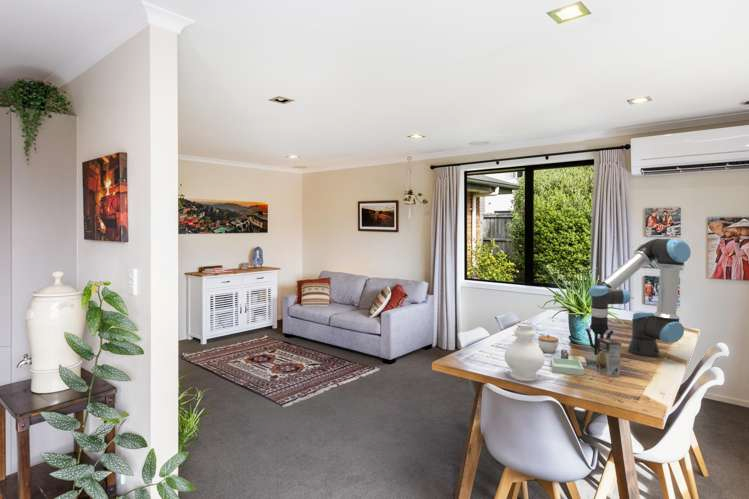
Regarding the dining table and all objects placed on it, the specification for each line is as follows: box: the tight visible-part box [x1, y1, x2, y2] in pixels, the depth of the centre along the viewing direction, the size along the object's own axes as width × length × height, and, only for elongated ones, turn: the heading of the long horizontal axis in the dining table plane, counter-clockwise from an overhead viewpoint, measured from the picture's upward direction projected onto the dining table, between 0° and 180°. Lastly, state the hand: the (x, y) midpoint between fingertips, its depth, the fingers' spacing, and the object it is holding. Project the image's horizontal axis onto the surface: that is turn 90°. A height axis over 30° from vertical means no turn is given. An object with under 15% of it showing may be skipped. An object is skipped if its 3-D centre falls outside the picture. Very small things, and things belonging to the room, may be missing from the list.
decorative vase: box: [504, 322, 546, 382], centre depth 206 cm, size 18×18×25 cm
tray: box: [550, 357, 585, 376], centre depth 217 cm, size 14×15×3 cm
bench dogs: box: [560, 349, 570, 359], centre depth 230 cm, size 3×9×5 cm, turn 162°
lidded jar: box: [537, 334, 559, 354], centre depth 248 cm, size 11×11×9 cm
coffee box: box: [596, 337, 622, 377], centre depth 211 cm, size 9×6×16 cm
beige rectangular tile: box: [568, 355, 588, 367], centre depth 228 cm, size 8×10×2 cm
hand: (598, 361), depth 226 cm, fingers closed
